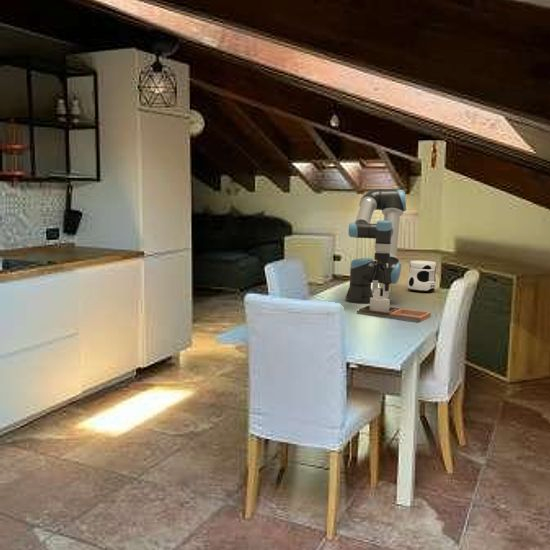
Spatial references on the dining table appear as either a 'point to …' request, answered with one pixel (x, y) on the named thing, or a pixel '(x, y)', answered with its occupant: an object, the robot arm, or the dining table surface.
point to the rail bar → (388, 316)
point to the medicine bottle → (379, 301)
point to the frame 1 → (367, 309)
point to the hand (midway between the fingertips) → (380, 295)
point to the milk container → (422, 276)
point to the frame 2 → (422, 314)
